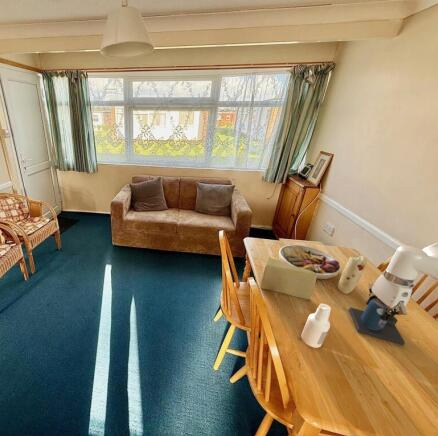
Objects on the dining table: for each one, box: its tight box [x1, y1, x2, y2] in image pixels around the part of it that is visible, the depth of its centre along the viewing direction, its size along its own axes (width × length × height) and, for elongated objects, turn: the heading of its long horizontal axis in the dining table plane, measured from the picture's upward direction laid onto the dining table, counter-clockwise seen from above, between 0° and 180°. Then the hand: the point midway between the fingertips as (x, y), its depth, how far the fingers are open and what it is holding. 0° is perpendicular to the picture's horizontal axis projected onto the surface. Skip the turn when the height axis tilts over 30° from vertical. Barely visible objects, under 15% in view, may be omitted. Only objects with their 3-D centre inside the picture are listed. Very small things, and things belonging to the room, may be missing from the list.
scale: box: [348, 306, 406, 346], centre depth 96 cm, size 15×14×4 cm
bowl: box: [278, 244, 341, 280], centre depth 134 cm, size 30×30×8 cm
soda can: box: [361, 297, 394, 330], centre depth 93 cm, size 7×7×12 cm
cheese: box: [259, 256, 317, 300], centre depth 113 cm, size 22×10×15 cm, turn 58°
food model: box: [337, 254, 367, 295], centre depth 112 cm, size 10×7×20 cm
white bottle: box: [300, 303, 332, 349], centre depth 87 cm, size 7×7×18 cm
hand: (377, 311), depth 92 cm, fingers closed on soda can, 7 cm apart
